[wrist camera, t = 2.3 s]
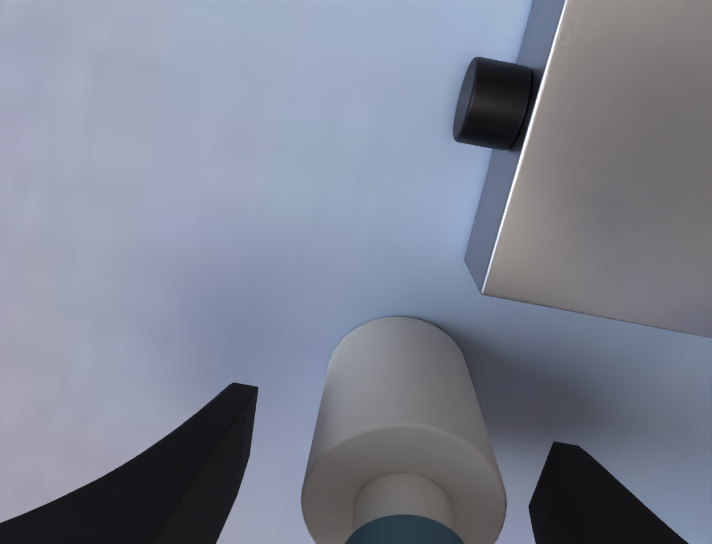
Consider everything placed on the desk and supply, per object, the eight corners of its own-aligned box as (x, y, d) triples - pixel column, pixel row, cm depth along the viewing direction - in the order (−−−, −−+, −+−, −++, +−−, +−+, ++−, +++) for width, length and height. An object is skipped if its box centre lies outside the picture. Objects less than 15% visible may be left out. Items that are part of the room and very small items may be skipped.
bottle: (484, 330, 14) (571, 534, 7) (448, 448, 15) (497, 709, 9) (339, 303, 14) (299, 484, 7) (317, 424, 15) (267, 667, 9)
